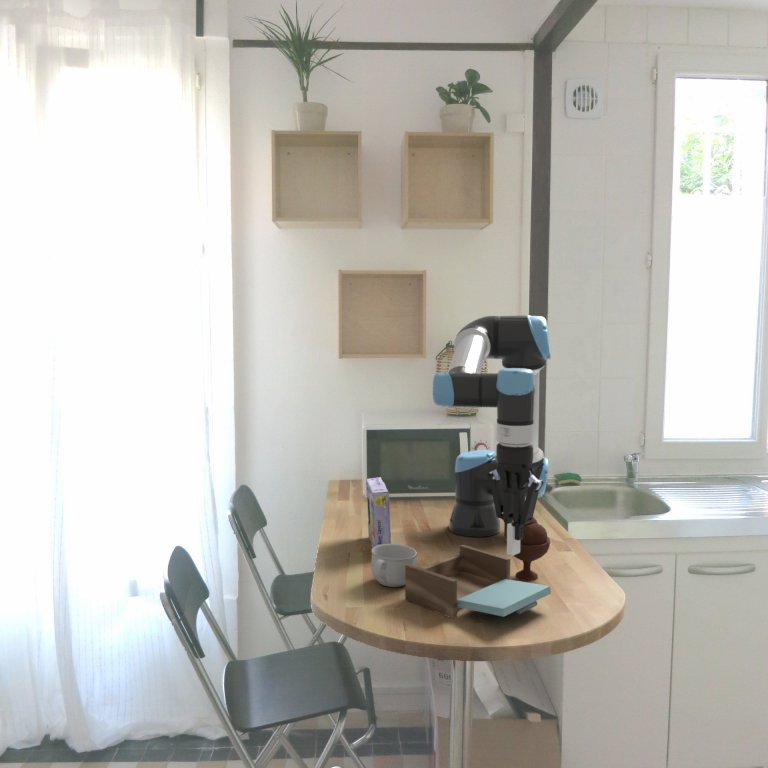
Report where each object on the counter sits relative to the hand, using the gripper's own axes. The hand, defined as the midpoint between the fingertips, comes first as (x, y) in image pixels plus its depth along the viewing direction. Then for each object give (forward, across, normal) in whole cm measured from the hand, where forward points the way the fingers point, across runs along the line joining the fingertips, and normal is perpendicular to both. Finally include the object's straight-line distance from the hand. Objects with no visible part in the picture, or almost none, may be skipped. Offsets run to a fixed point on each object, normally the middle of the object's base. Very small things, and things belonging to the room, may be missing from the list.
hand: (513, 553), depth 151 cm
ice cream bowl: (+14, -11, +20) cm, 27 cm away
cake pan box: (+15, -53, +11) cm, 56 cm away
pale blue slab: (+12, -8, -1) cm, 14 cm away
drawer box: (+14, -16, -1) cm, 21 cm away
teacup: (+14, -31, -7) cm, 34 cm away
